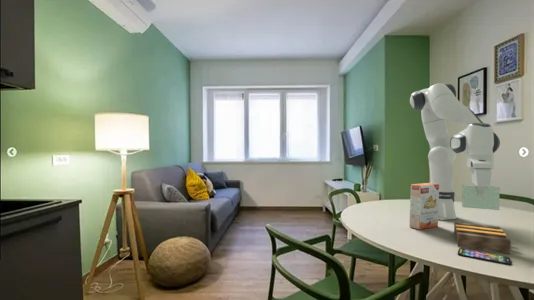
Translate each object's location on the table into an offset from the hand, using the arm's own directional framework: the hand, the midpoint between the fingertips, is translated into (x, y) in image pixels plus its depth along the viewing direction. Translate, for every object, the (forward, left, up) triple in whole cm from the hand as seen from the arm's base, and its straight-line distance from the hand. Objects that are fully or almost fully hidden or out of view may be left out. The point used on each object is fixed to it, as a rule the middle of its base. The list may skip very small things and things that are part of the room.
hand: (479, 196), depth 118 cm
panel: (0, 0, -5) cm, 5 cm away
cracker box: (-20, +14, -19) cm, 31 cm away
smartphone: (-1, -18, -19) cm, 26 cm away
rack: (0, 0, -19) cm, 19 cm away
